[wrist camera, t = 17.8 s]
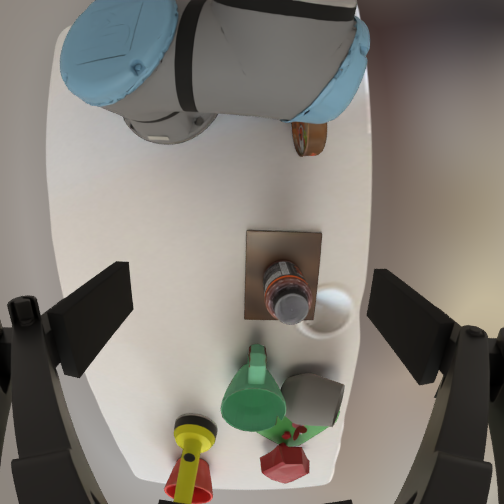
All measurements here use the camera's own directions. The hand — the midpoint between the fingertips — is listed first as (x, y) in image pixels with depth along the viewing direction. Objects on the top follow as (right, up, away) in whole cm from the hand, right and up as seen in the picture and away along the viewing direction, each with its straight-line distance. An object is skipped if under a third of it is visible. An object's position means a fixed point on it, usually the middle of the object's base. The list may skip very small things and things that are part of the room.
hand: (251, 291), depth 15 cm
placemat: (+5, -2, +30) cm, 30 cm away
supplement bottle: (+5, -2, +30) cm, 30 cm away
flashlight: (-11, -34, +38) cm, 53 cm away
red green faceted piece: (+9, -35, +39) cm, 53 cm away
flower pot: (-14, -49, +42) cm, 66 cm away
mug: (0, -17, +34) cm, 38 cm away
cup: (+5, -23, +33) cm, 40 cm away
